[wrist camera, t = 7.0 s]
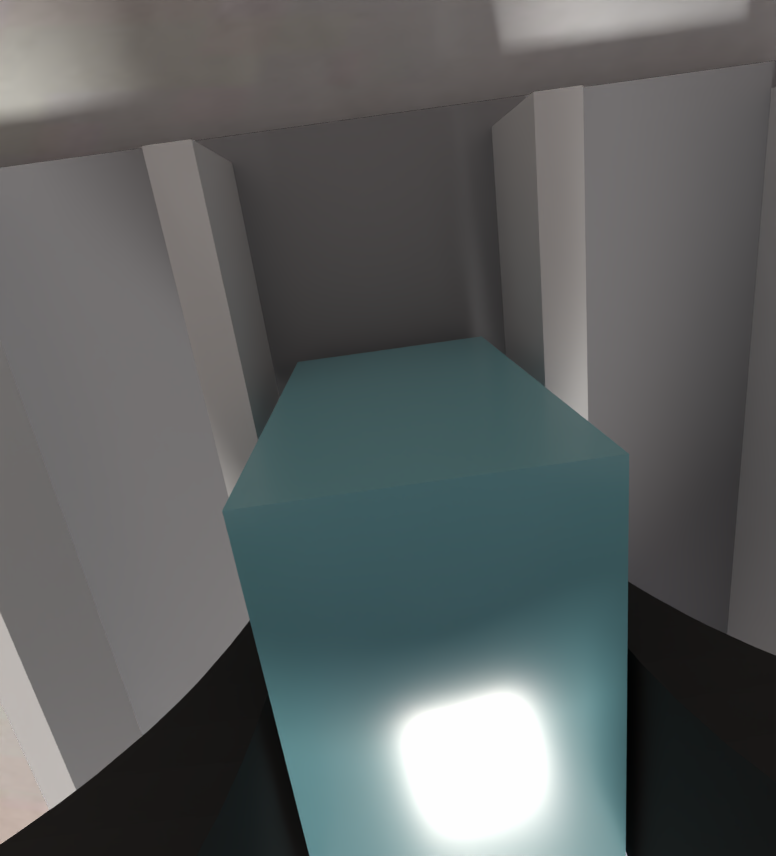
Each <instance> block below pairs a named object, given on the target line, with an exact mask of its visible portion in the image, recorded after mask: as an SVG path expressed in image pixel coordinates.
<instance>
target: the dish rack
mask: <svg viewBox="0 0 776 856" xmlns="http://www.w3.org/2000/svg"><path fill="white" fill-rule="evenodd" d="M480 336H482V337H483V338H484V339H486V340H487V341H488V342H489V343H491V344H492V345H493V346H494V347H496V348H497V349H498V350H499V351H501V352H502V353H503V354H504V355H506V356H507V357H508V358H509V359H511V360H512V361H513V362H514V363H516V364H517V365H518V366H519V367H521V368H522V369H523V370H525V371H526V372H527V373H528V374H530V375H531V376H532V377H533V378H535V379H536V380H537V381H538V382H540V383H541V384H542V385H543V386H545V387H546V388H547V389H548V390H550V391H551V392H552V393H553V394H555V395H556V396H557V397H558V398H560V399H561V400H562V401H563V402H565V403H566V404H567V405H568V406H570V407H571V408H572V409H573V410H575V411H576V412H577V413H579V414H580V415H581V416H582V417H584V418H585V419H586V420H587V421H589V422H590V423H591V424H592V425H594V426H595V427H596V428H597V429H599V430H600V431H601V432H602V433H604V434H605V435H606V436H607V437H609V438H610V439H611V440H612V441H614V442H615V443H616V444H617V445H619V446H620V447H621V448H622V449H624V450H625V451H626V452H627V453H629V534H628V582H630V583H632V584H633V585H635V586H637V587H638V588H640V589H642V590H643V591H645V592H647V593H648V594H650V595H652V596H654V597H655V598H657V599H659V600H661V601H663V602H664V603H666V604H668V605H670V606H672V607H674V608H675V609H677V610H679V611H681V612H683V613H685V614H686V615H688V616H690V617H692V618H694V619H696V620H698V621H700V622H702V623H704V624H706V625H708V626H710V627H712V628H715V629H717V630H719V631H721V632H723V633H725V634H728V635H730V636H732V637H734V638H736V639H739V640H741V641H743V642H745V643H747V644H749V645H752V646H754V647H757V648H759V649H761V650H764V651H766V652H769V653H771V654H773V655H776V61H769V62H761V63H754V64H747V65H740V66H732V67H725V68H718V69H711V70H703V71H696V72H689V73H682V74H674V75H667V76H660V77H653V78H645V79H638V80H631V81H624V82H617V83H609V84H602V85H595V86H588V87H583V85H579V86H571V87H564V88H557V89H550V90H542V91H535V92H533V93H531V94H530V95H522V96H515V97H508V98H501V99H493V100H486V101H479V102H472V103H464V104H457V105H450V106H443V107H435V108H428V109H421V110H414V111H407V112H399V113H392V114H385V115H378V116H370V117H363V118H356V119H349V120H341V121H334V122H327V123H320V124H312V125H305V126H298V127H291V128H283V129H276V130H269V131H262V132H254V133H247V134H240V135H233V136H225V137H218V138H211V139H204V140H196V141H194V140H192V139H187V140H180V141H173V142H166V143H158V144H151V145H144V146H142V148H139V149H131V150H124V151H117V152H110V153H102V154H95V155H88V156H81V157H73V158H66V159H59V160H52V161H44V162H37V163H30V164H23V165H15V166H8V167H1V168H0V703H1V705H2V708H3V710H4V712H5V714H6V716H7V719H8V721H9V723H10V725H11V727H12V729H13V732H14V734H15V736H16V738H17V740H18V743H19V745H20V747H21V749H22V751H23V754H24V756H25V758H26V760H27V762H28V765H29V767H30V769H31V771H32V773H33V776H34V778H35V780H36V782H37V784H38V786H39V789H40V791H41V793H42V795H43V797H44V800H45V802H46V804H47V806H48V808H49V810H50V809H52V808H53V807H54V806H56V805H57V804H59V803H60V802H61V801H63V800H64V799H65V798H67V797H68V796H69V795H71V794H72V793H73V792H74V791H76V790H77V789H78V788H80V787H81V786H82V785H84V784H85V783H86V782H88V781H89V780H90V779H91V778H93V777H94V776H95V775H97V774H98V773H99V772H100V771H101V770H102V769H104V768H105V767H106V766H107V765H108V764H110V763H111V762H112V761H113V760H114V759H115V758H117V757H118V756H119V755H120V754H121V753H123V752H124V751H125V750H126V749H127V748H129V747H130V746H131V745H132V744H133V743H134V742H136V741H137V740H138V739H139V738H140V737H142V736H143V735H144V734H145V733H146V732H147V731H148V730H150V729H151V728H152V727H153V726H154V725H155V724H156V723H157V722H158V721H159V720H160V719H161V718H162V717H163V716H165V715H166V714H167V713H168V712H169V711H170V710H171V709H172V708H173V707H174V706H175V705H176V704H177V703H178V702H179V701H180V700H181V699H182V698H183V697H184V696H185V695H186V694H187V693H188V692H189V691H190V690H191V689H192V688H193V687H194V686H195V685H196V684H197V683H198V682H199V680H200V679H201V678H202V677H203V676H204V675H205V674H206V673H207V671H208V670H209V669H210V668H211V667H212V666H213V665H214V663H215V662H216V661H217V660H218V659H219V658H220V656H221V655H222V654H223V653H224V652H225V651H226V650H227V648H228V647H229V646H230V645H231V643H232V642H233V641H234V640H235V638H236V637H237V636H238V634H239V633H240V632H241V631H242V629H243V628H244V627H245V626H246V624H247V623H248V622H249V620H250V619H249V615H248V611H247V607H246V603H245V599H244V595H243V592H242V588H241V584H240V580H239V576H238V572H237V568H236V564H235V560H234V556H233V552H232V548H231V544H230V540H229V536H228V532H227V528H226V524H225V520H224V516H223V513H222V510H223V508H224V506H225V504H226V502H227V500H228V498H229V496H230V494H231V492H232V490H233V488H234V487H235V485H236V483H237V481H238V479H239V477H240V475H241V473H242V471H243V469H244V467H245V465H246V463H247V461H248V459H249V457H250V455H251V453H252V451H253V449H254V447H255V445H256V443H257V441H258V439H259V437H260V435H261V433H262V431H263V429H264V427H265V425H266V424H267V422H268V420H269V418H270V416H271V414H272V412H273V410H274V408H275V406H276V404H277V402H278V400H279V398H280V396H281V394H282V392H283V390H284V388H285V386H286V384H287V382H288V380H289V378H290V376H291V374H292V372H293V370H294V368H295V366H296V364H297V363H298V362H301V361H308V360H315V359H323V358H330V357H337V356H344V355H351V354H358V353H366V352H373V351H380V350H387V349H394V348H402V347H409V346H416V345H423V344H430V343H437V342H445V341H452V340H459V339H466V338H473V337H480Z"/></svg>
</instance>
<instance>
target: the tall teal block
mask: <svg viewBox="0 0 776 856" xmlns="http://www.w3.org/2000/svg"><path fill="white" fill-rule="evenodd" d="M222 513H223V516H224V520H225V524H226V528H227V532H228V536H229V540H230V544H231V548H232V552H233V556H234V560H235V564H236V568H237V572H238V576H239V580H240V584H241V588H242V592H243V595H244V599H245V603H246V607H247V611H248V615H249V619H250V623H251V627H252V631H253V635H254V639H255V643H256V647H257V651H258V655H259V659H260V663H261V667H262V671H263V674H264V678H265V682H266V686H267V690H268V694H269V698H270V702H271V706H272V710H273V714H274V718H275V722H276V726H277V730H278V734H279V738H280V742H281V746H282V750H283V753H284V757H285V761H286V765H287V769H288V773H289V777H290V781H291V785H292V789H293V793H294V797H295V801H296V805H297V809H298V813H299V817H300V821H301V825H302V829H303V833H304V836H305V840H306V844H307V848H308V852H309V856H626V757H627V646H628V534H629V453H627V452H626V451H625V450H624V449H622V448H621V447H620V446H619V445H617V444H616V443H615V442H614V441H612V440H611V439H610V438H609V437H607V436H606V435H605V434H604V433H602V432H601V431H600V430H599V429H597V428H596V427H595V426H594V425H592V424H591V423H590V422H589V421H587V420H586V419H585V418H584V417H582V416H581V415H580V414H579V413H577V412H576V411H575V410H573V409H572V408H571V407H570V406H568V405H567V404H566V403H565V402H563V401H562V400H561V399H560V398H558V397H557V396H556V395H555V394H553V393H552V392H551V391H550V390H548V389H547V388H546V387H545V386H543V385H542V384H541V383H540V382H538V381H537V380H536V379H535V378H533V377H532V376H531V375H530V374H528V373H527V372H526V371H525V370H523V369H522V368H521V367H519V366H518V365H517V364H516V363H514V362H513V361H512V360H511V359H509V358H508V357H507V356H506V355H504V354H503V353H502V352H501V351H499V350H498V349H497V348H496V347H494V346H493V345H492V344H491V343H489V342H488V341H487V340H486V339H484V338H483V337H482V336H480V337H473V338H466V339H459V340H452V341H445V342H437V343H430V344H423V345H416V346H409V347H402V348H394V349H387V350H380V351H373V352H366V353H358V354H351V355H344V356H337V357H330V358H323V359H315V360H308V361H301V362H298V363H297V364H296V366H295V368H294V370H293V372H292V374H291V376H290V378H289V380H288V382H287V384H286V386H285V388H284V390H283V392H282V394H281V396H280V398H279V400H278V402H277V404H276V406H275V408H274V410H273V412H272V414H271V416H270V418H269V420H268V422H267V424H266V425H265V427H264V429H263V431H262V433H261V435H260V437H259V439H258V441H257V443H256V445H255V447H254V449H253V451H252V453H251V455H250V457H249V459H248V461H247V463H246V465H245V467H244V469H243V471H242V473H241V475H240V477H239V479H238V481H237V483H236V485H235V487H234V488H233V490H232V492H231V494H230V496H229V498H228V500H227V502H226V504H225V506H224V508H223V510H222Z"/></svg>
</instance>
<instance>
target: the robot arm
mask: <svg viewBox="0 0 776 856" xmlns="http://www.w3.org/2000/svg"><path fill="white" fill-rule="evenodd" d="M0 856H309V852H308V848H307V844H306V840H305V836H304V833H303V829H302V825H301V821H300V817H299V813H298V809H297V805H296V801H295V797H294V793H293V789H292V785H291V781H290V777H289V773H288V769H287V765H286V761H285V757H284V753H283V750H282V746H281V742H280V738H279V734H278V730H277V726H276V722H275V718H274V714H273V710H272V706H271V702H270V698H269V694H268V690H267V686H266V682H265V678H264V674H263V671H262V667H261V663H260V659H259V655H258V651H257V647H256V643H255V639H254V635H253V631H252V627H251V623H250V620H249V622H248V623H247V624H246V626H245V627H244V628H243V629H242V631H241V632H240V633H239V634H238V636H237V637H236V638H235V640H234V641H233V642H232V643H231V645H230V646H229V647H228V648H227V650H226V651H225V652H224V653H223V654H222V655H221V656H220V658H219V659H218V660H217V661H216V662H215V663H214V665H213V666H212V667H211V668H210V669H209V670H208V671H207V673H206V674H205V675H204V676H203V677H202V678H201V679H200V680H199V682H198V683H197V684H196V685H195V686H194V687H193V688H192V689H191V690H190V691H189V692H188V693H187V694H186V695H185V696H184V697H183V698H182V699H181V700H180V701H179V702H178V703H177V704H176V705H175V706H174V707H173V708H172V709H171V710H170V711H169V712H168V713H167V714H166V715H165V716H163V717H162V718H161V719H160V720H159V721H158V722H157V723H156V724H155V725H154V726H153V727H152V728H151V729H150V730H148V731H147V732H146V733H145V734H144V735H143V736H142V737H140V738H139V739H138V740H137V741H136V742H134V743H133V744H132V745H131V746H130V747H129V748H127V749H126V750H125V751H124V752H123V753H121V754H120V755H119V756H118V757H117V758H115V759H114V760H113V761H112V762H111V763H110V764H108V765H107V766H106V767H105V768H104V769H102V770H101V771H100V772H99V773H98V774H97V775H95V776H94V777H93V778H91V779H90V780H89V781H88V782H86V783H85V784H84V785H82V786H81V787H80V788H78V789H77V790H76V791H74V792H73V793H72V794H71V795H69V796H68V797H67V798H65V799H64V800H63V801H61V802H60V803H59V804H57V805H56V806H54V807H53V808H52V809H50V810H49V811H48V812H46V813H45V814H43V815H42V816H41V817H39V818H38V819H36V820H35V821H34V822H32V823H31V824H29V825H28V826H27V827H25V828H24V829H22V830H21V831H19V832H18V833H17V834H15V835H14V836H12V837H11V838H9V839H8V840H6V841H5V842H3V843H2V844H0ZM626 856H776V655H773V654H771V653H769V652H766V651H764V650H761V649H759V648H757V647H754V646H752V645H749V644H747V643H745V642H743V641H741V640H739V639H736V638H734V637H732V636H730V635H728V634H725V633H723V632H721V631H719V630H717V629H715V628H712V627H710V626H708V625H706V624H704V623H702V622H700V621H698V620H696V619H694V618H692V617H690V616H688V615H686V614H685V613H683V612H681V611H679V610H677V609H675V608H674V607H672V606H670V605H668V604H666V603H664V602H663V601H661V600H659V599H657V598H655V597H654V596H652V595H650V594H648V593H647V592H645V591H643V590H642V589H640V588H638V587H637V586H635V585H633V584H632V583H630V582H628V646H627V757H626Z"/></svg>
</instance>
